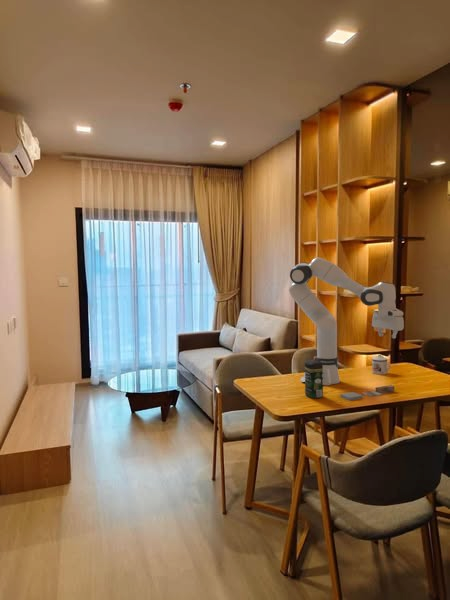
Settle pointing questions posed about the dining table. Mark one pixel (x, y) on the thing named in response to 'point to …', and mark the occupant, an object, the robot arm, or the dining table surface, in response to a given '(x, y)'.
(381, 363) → the teacup with lid
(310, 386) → the coffee jar
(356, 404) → the dining table surface
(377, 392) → the turner
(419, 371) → the dining table surface
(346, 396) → the tile
